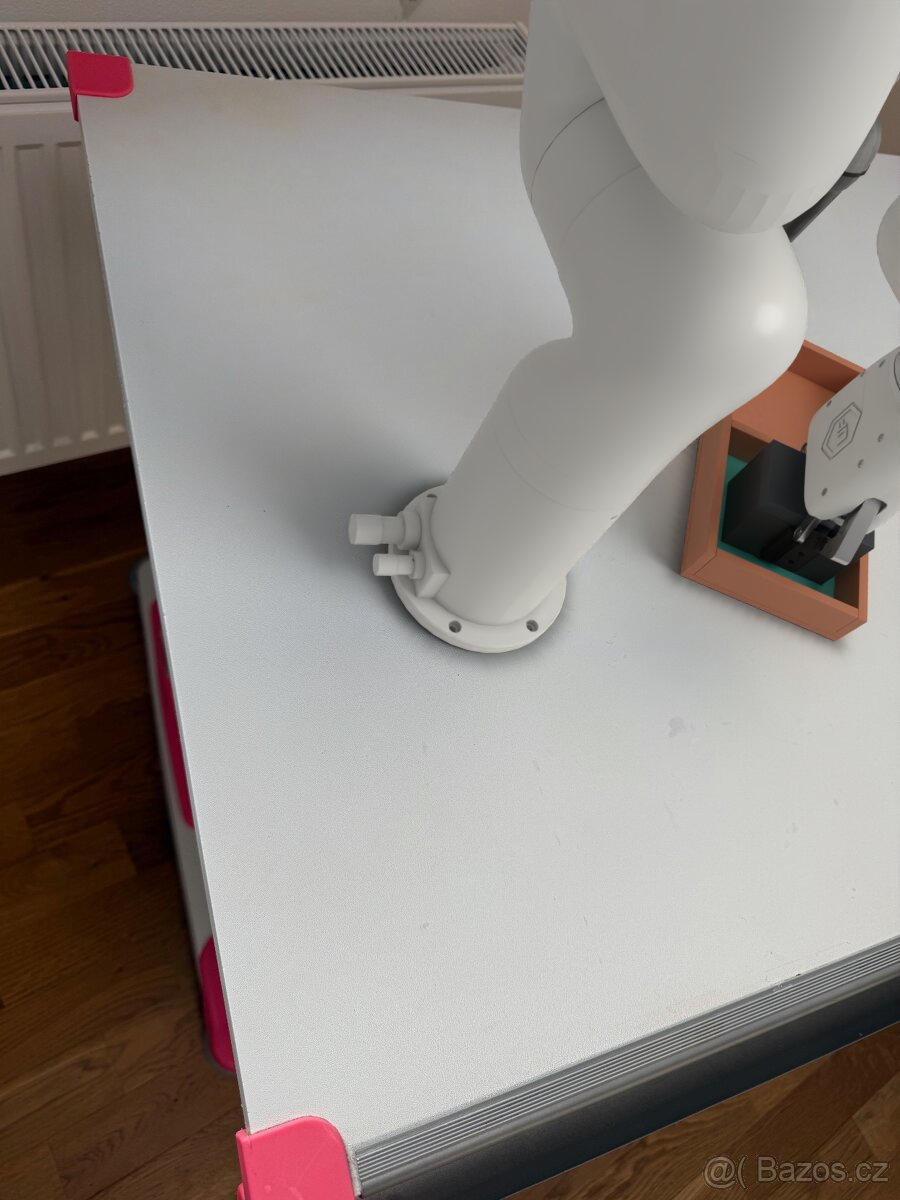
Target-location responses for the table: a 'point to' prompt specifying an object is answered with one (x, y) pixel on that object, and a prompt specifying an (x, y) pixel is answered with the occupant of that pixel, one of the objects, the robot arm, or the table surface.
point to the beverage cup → (840, 180)
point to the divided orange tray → (728, 452)
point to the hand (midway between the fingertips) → (780, 526)
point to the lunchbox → (776, 508)
